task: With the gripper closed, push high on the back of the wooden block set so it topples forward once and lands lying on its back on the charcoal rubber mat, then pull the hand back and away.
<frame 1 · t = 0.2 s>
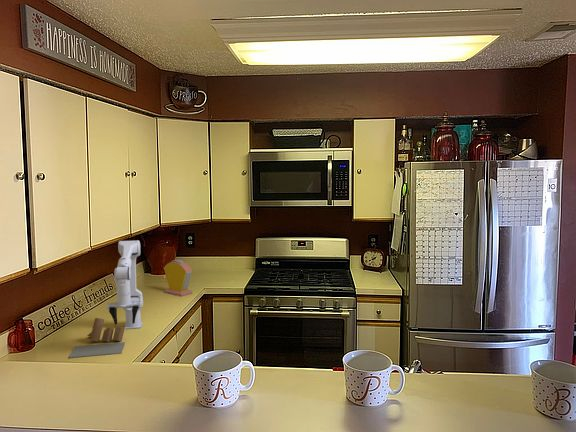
hand: (124, 323, 209), 10 cm above the countertop, tool pointing down, fingers open, 7 cm apart
wooden block set: (102, 341, 216), on the countertop
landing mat: (97, 350, 204), on the countertop
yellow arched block: (178, 293, 301), on the countertop
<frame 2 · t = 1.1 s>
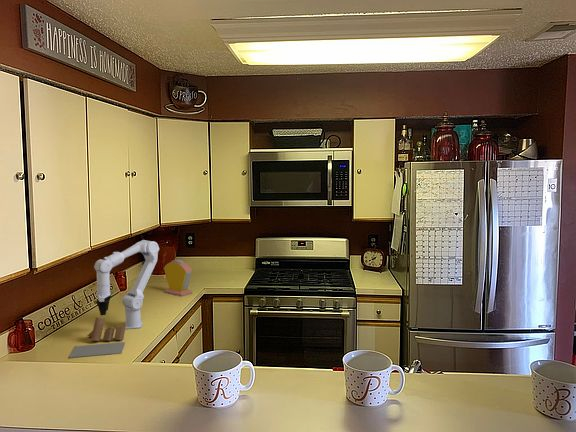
hand: (104, 312, 224), 10 cm above the countertop, tool pointing down, fingers open, 7 cm apart
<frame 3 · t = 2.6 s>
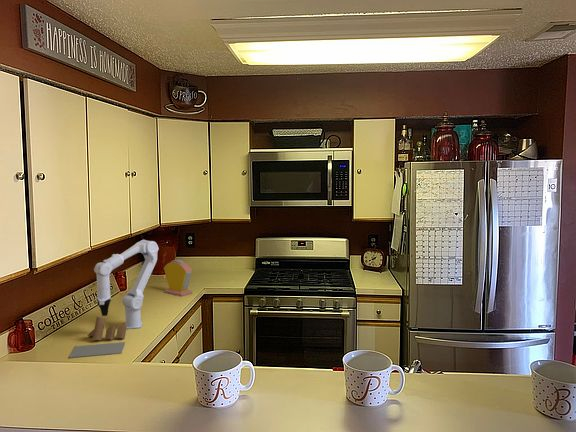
hand: (104, 315, 225), 9 cm above the countertop, tool pointing down, fingers closed
wooden block set: (104, 339, 218), on the countertop
everything else where it was.
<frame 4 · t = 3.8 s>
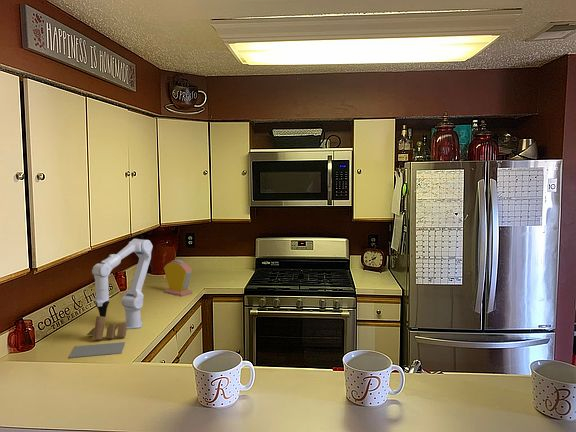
hand: (103, 317, 220), 9 cm above the countertop, tool pointing down, fingers closed, pressing on wooden block set
wooden block set: (105, 338, 219), on the countertop, touching gripper
everything else where it was.
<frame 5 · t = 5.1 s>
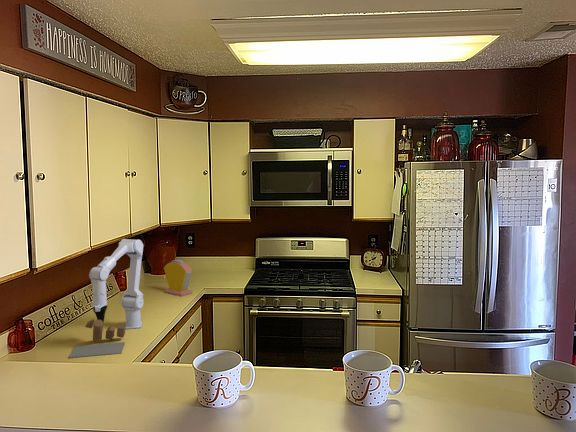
hand: (101, 322, 214), 9 cm above the countertop, tool pointing down, fingers closed
wooden block set: (104, 333, 217), point 3 cm above the countertop, touching gripper
everything else where it was.
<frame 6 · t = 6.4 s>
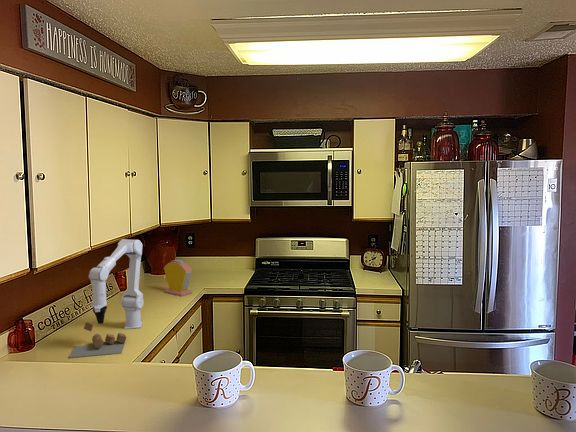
hand: (100, 323, 213), 9 cm above the countertop, tool pointing down, fingers closed
wooden block set: (104, 332, 214), point 4 cm above the countertop, touching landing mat
everything else where it was.
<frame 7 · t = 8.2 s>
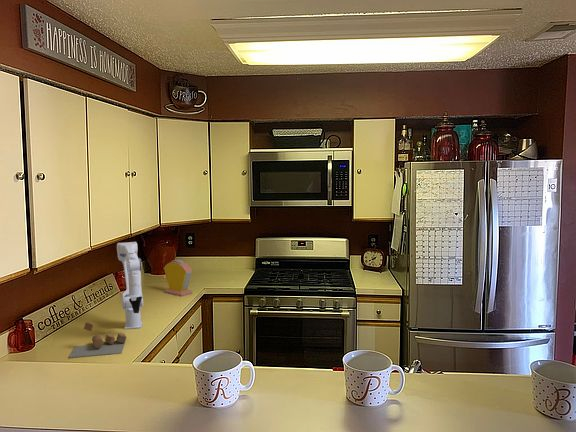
hand: (136, 312, 223), 10 cm above the countertop, tool pointing down, fingers closed
nothing on the countertop moved.
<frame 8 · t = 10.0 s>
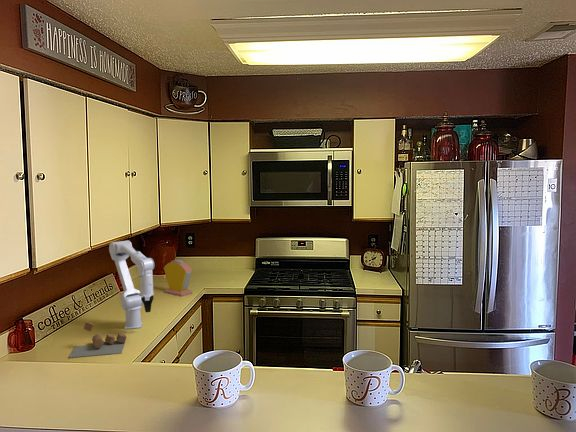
hand: (148, 311, 225), 10 cm above the countertop, tool pointing down, fingers closed
nothing on the countertop moved.
at the end: wooden block set tilted 105°; wooden block set inside the target area (5.1 cm from its centre), point 4.4 cm above the countertop; wooden block set touching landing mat, countertop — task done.
